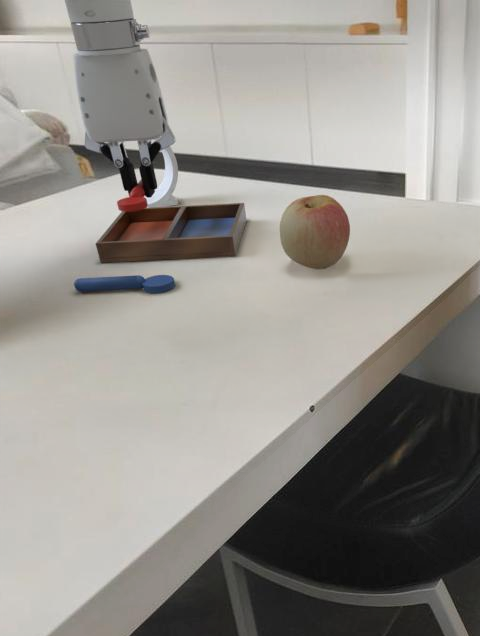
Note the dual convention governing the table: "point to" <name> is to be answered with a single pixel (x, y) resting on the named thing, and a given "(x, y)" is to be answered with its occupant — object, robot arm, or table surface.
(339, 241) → the apple
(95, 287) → the blue spoon
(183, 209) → the tray
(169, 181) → the headphone stand
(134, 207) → the red spoon
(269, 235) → the table surface
